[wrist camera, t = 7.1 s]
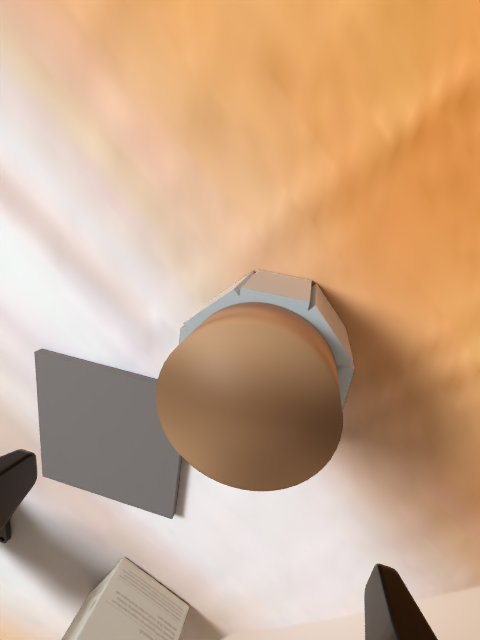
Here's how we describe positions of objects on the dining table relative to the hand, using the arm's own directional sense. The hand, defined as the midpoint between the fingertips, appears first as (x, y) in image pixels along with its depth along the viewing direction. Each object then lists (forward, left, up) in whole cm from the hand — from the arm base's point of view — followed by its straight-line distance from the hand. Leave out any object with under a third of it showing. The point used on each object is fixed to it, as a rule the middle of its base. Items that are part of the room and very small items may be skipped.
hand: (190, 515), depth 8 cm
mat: (-10, +9, -12) cm, 18 cm away
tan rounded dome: (0, 0, -7) cm, 7 cm away
